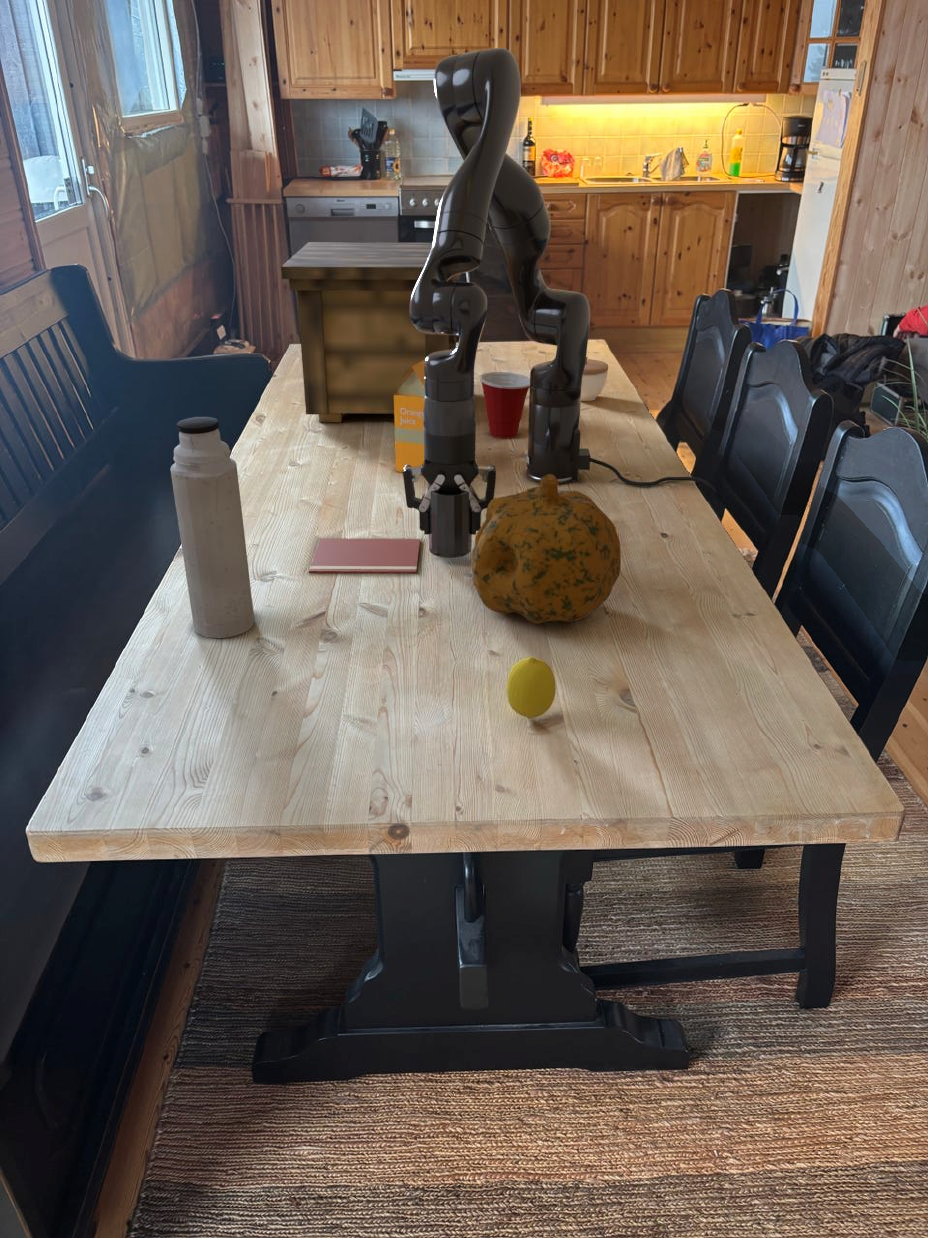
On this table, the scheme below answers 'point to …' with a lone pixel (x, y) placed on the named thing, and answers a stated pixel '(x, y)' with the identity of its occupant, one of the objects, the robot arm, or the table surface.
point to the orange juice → (410, 419)
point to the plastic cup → (504, 401)
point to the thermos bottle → (211, 530)
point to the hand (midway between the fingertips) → (450, 532)
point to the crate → (358, 323)
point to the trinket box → (593, 379)
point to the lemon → (531, 687)
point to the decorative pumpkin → (545, 554)
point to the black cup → (450, 524)
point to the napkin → (366, 556)
